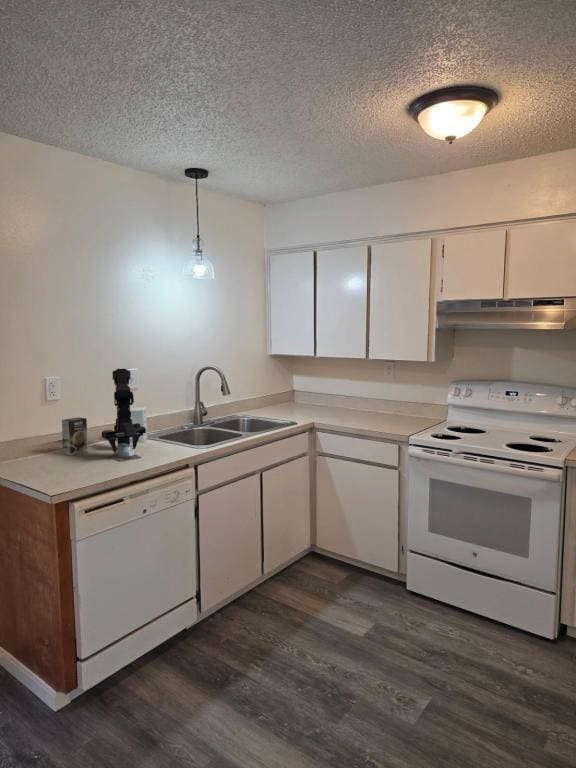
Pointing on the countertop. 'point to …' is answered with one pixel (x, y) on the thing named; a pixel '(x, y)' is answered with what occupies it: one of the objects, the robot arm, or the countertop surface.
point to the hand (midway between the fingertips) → (124, 450)
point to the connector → (124, 451)
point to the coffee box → (74, 436)
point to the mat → (122, 458)
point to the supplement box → (139, 420)
